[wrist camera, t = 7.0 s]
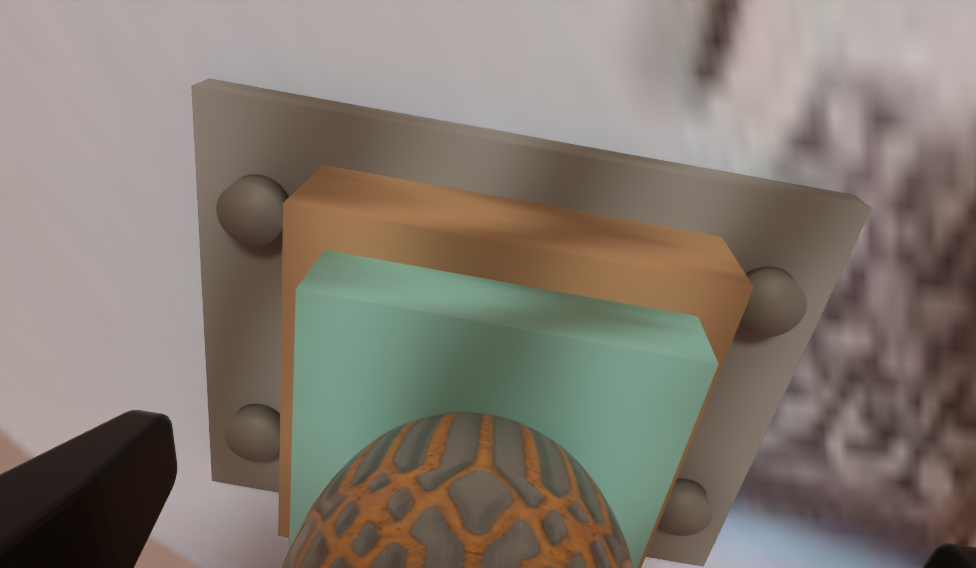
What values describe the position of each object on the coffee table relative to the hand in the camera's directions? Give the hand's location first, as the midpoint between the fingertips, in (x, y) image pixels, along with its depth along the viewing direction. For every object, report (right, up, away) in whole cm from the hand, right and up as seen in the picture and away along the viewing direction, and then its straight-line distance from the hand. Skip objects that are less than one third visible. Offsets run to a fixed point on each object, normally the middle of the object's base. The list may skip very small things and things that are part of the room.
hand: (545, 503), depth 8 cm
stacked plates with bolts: (-1, 0, +13) cm, 13 cm away
